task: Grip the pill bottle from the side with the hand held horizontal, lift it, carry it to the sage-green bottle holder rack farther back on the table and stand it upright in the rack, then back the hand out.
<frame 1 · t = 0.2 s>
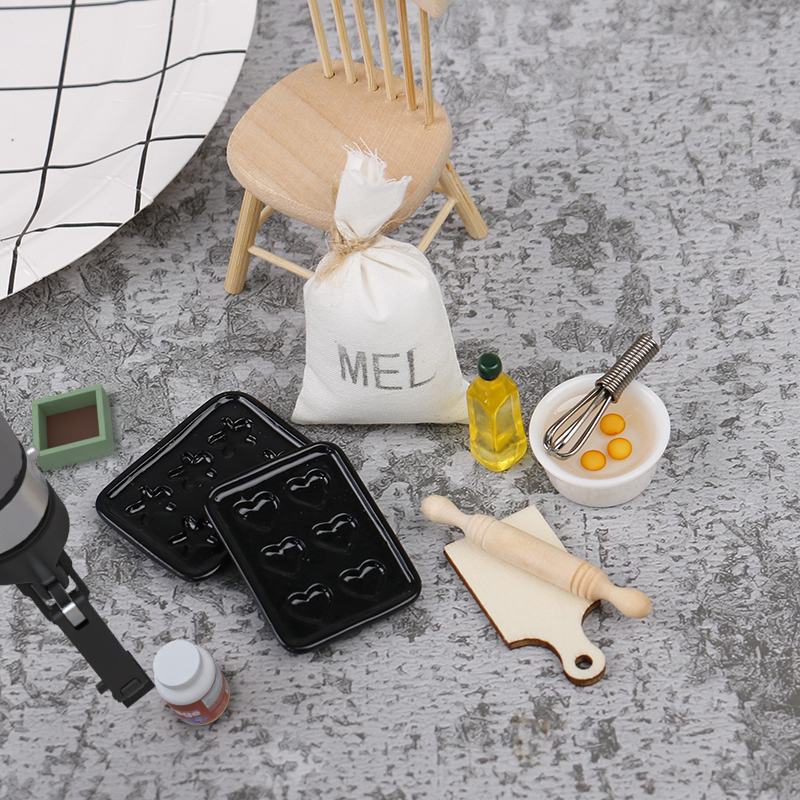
hand: (96, 634, 79), 26 cm above the table, tool pointing down, fingers open, 13 cm apart
pill bottle: (203, 698, 102), on the table
holder: (77, 434, 123), on the table
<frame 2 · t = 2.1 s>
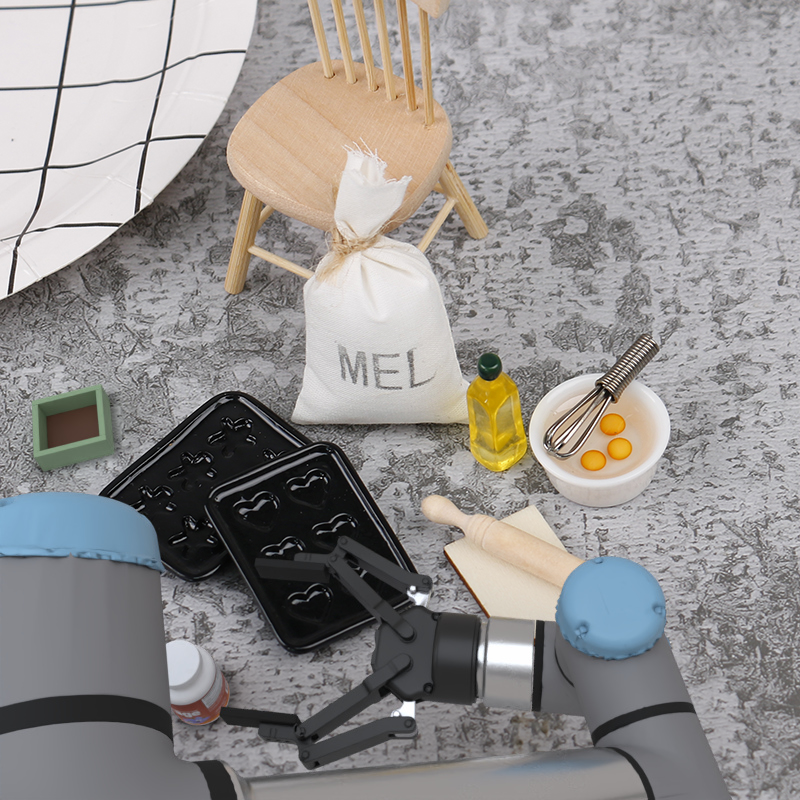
hand: (241, 638, 83), 21 cm above the table, tool horizontal, fingers open, 13 cm apart
nothing on the table moved.
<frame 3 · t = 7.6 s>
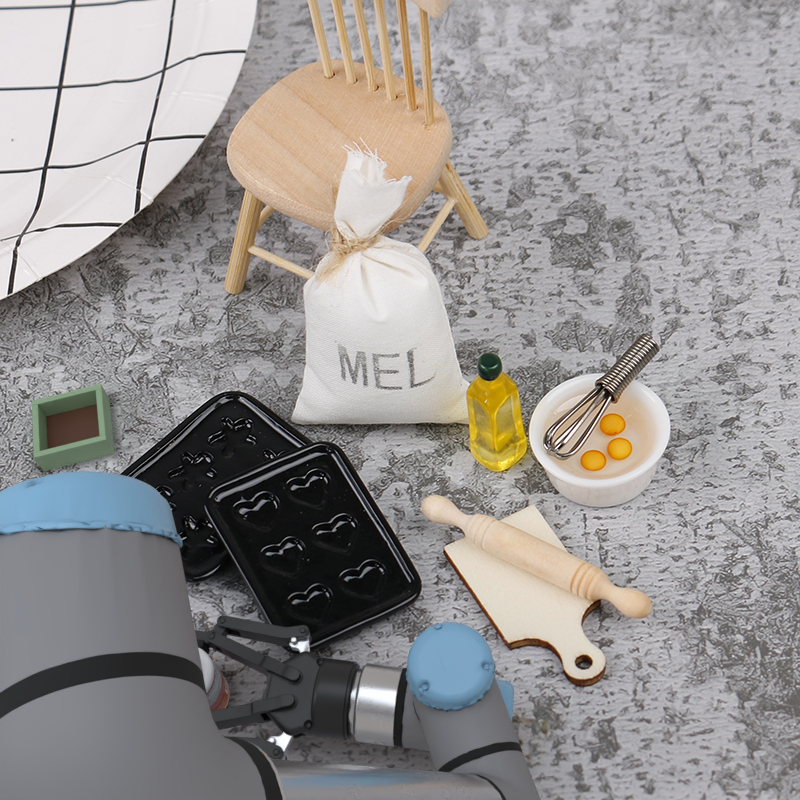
hand: (137, 673, 97), 7 cm above the table, tool horizontal, fingers closed on pill bottle, 6 cm apart
pill bottle: (203, 698, 102), on the table, touching gripper
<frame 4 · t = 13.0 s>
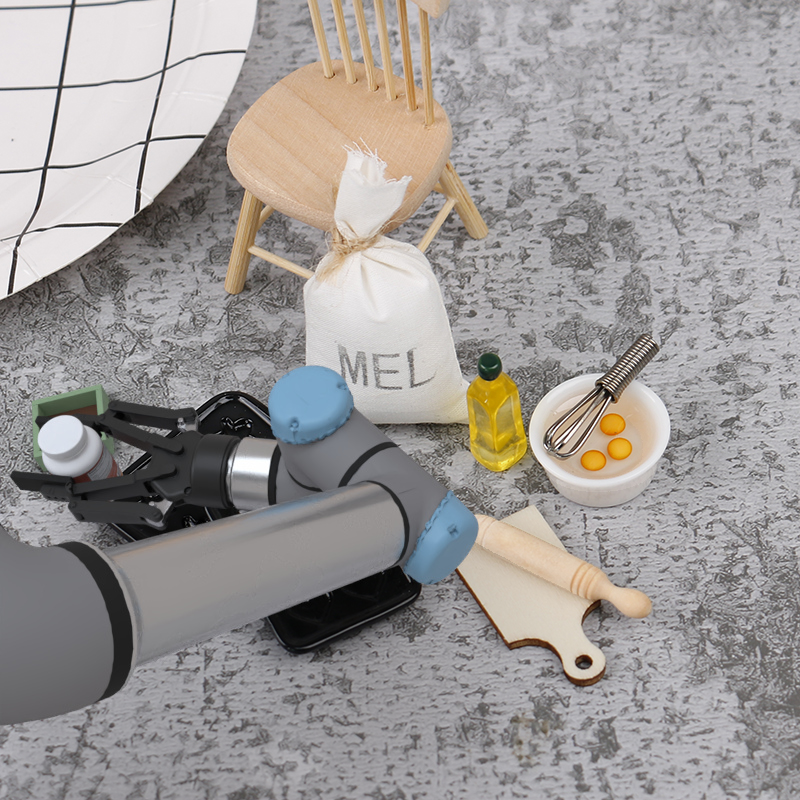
hand: (29, 452, 100), 18 cm above the table, tool horizontal, fingers closed on pill bottle, 6 cm apart
pill bottle: (98, 487, 105), point 11 cm above the table, touching gripper
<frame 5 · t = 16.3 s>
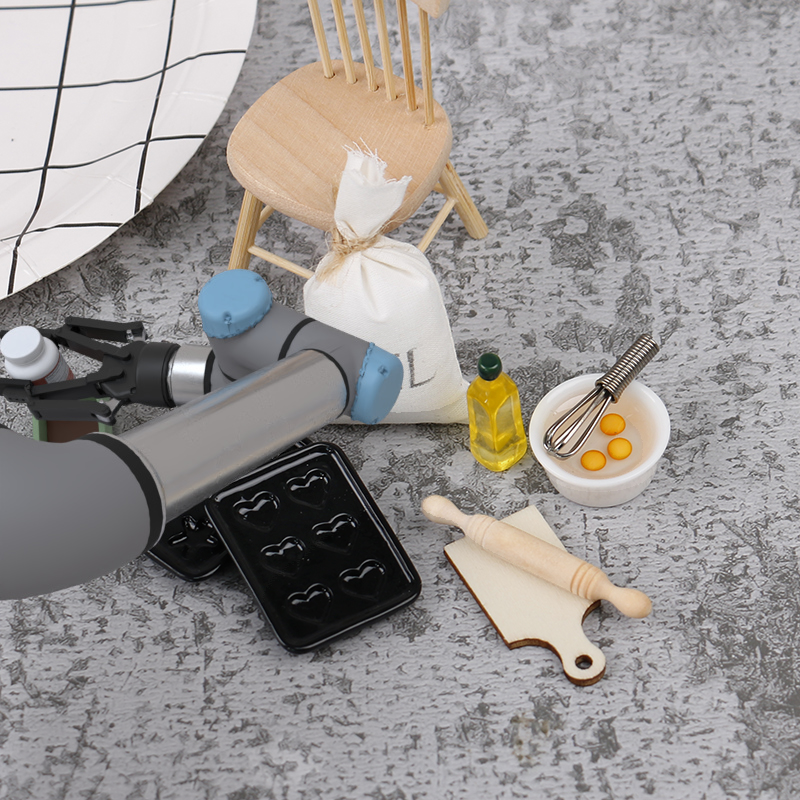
pill bottle: (57, 396, 116), point 8 cm above the table, touching gripper
when the fingers open (7 cm above the table, at t = 18.8 s): pill bottle stays where it is, resting on holder.
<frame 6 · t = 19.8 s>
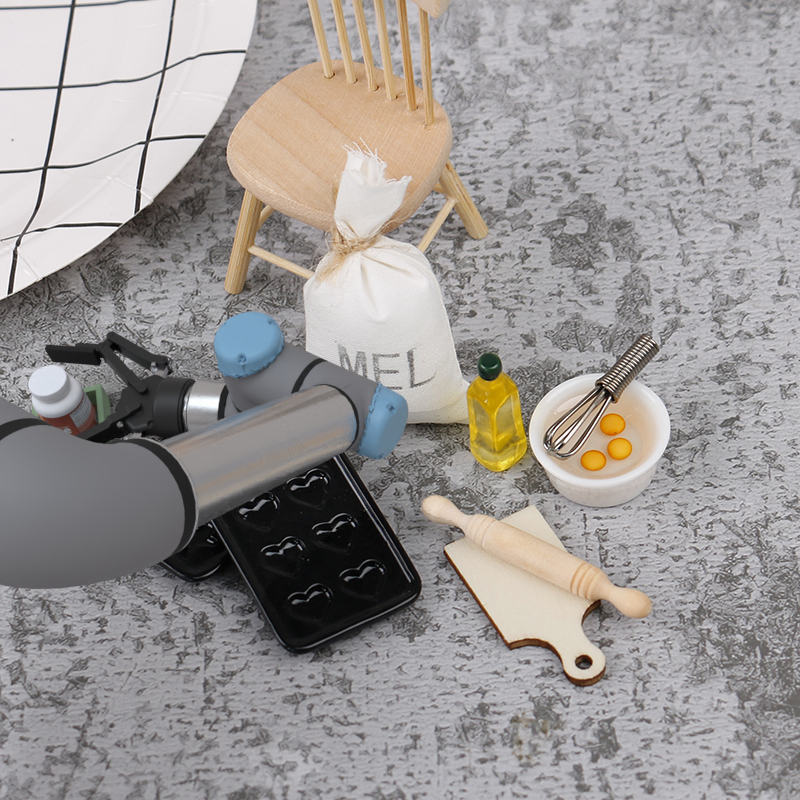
hand: (29, 396, 117), 8 cm above the table, tool horizontal, fingers open, 13 cm apart
pill bottle: (79, 431, 123), point 1 cm above the table, touching holder
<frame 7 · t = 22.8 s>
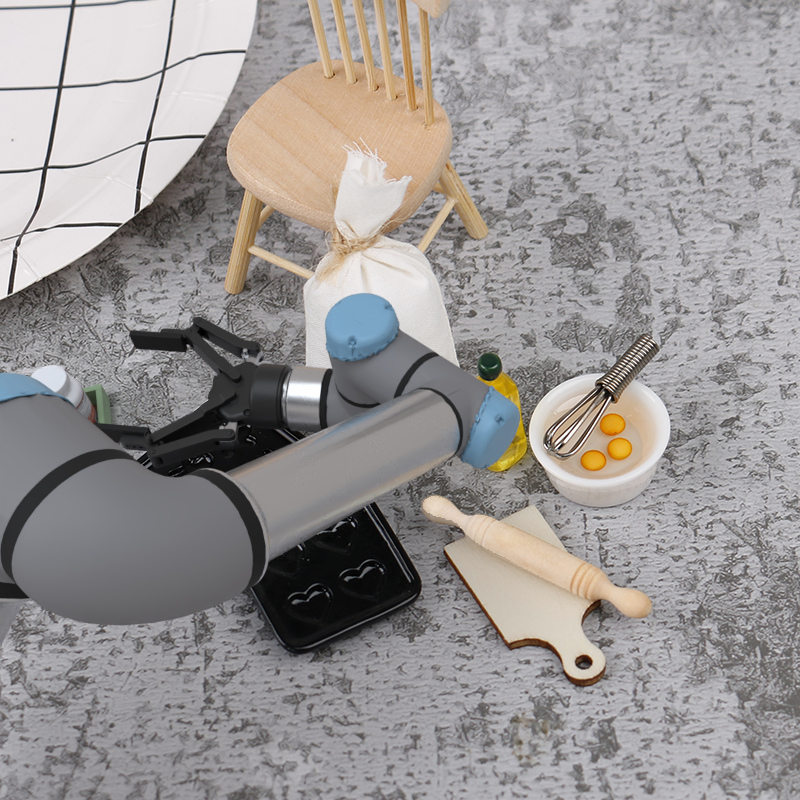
hand: (115, 384, 111), 13 cm above the table, tool horizontal, fingers open, 13 cm apart
nothing on the table moved.
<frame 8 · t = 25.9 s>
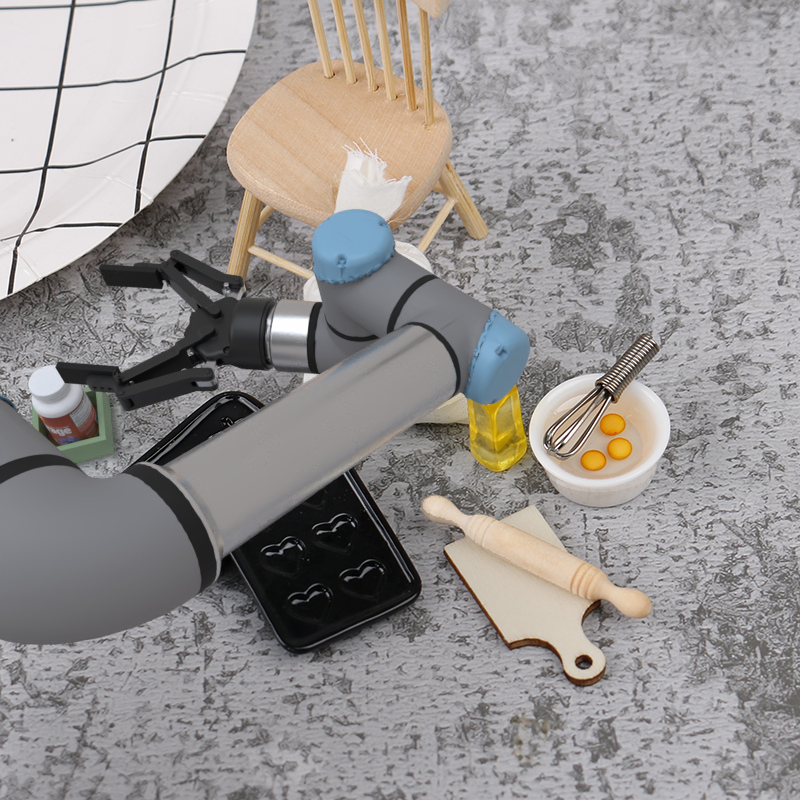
hand: (82, 321, 101), 25 cm above the table, tool horizontal, fingers open, 13 cm apart
nothing on the table moved.
at the end: pill bottle 0.4 cm off-centre in the holder, point 0.5 cm above the holder's base; pill bottle tilted 0°; the gripper is holding nothing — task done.
